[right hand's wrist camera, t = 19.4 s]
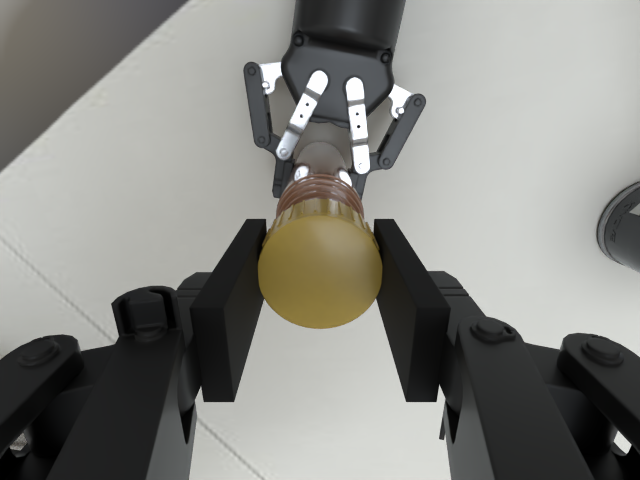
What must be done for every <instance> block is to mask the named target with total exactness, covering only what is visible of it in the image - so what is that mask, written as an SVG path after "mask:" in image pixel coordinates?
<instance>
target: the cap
mask: <svg viewBox="0 0 640 480" xmlns="http://www.w3.org/2000/svg"><path fill="white" fill-rule="evenodd" d="M262 246H263V248H262V251H261V253H260V256H259V260H258V279H259V287H260V290H261V293H262V295H263V297H264V299H265V300H266V302H267V303H268V305H269V306H270V307H271V308H272V309H273V310H274V311H275V312H276V313H277V314H278V315H280V316H281V317H283V318H284V319H286V320H288V321H289V322H291V323H294V324H296V325H299V326H303V327H307V328H314V329H325V328H333V327H337V326H341V325H344V324H346V323H349V322H351V321H353V320H354V319H356V318H358V317H359V316H360V315H362V314H363V313H364V312H365V311H366V310H367V309H368V308H369V307H370V306H371V304H372V303H373V302H374V300H375V298H376V297H377V295H378V293H379V290H380V287H381V282H382V260H381V257H380V254H379V251H378V250H380V249H379V246H378V244H377V242H376V239H375V237H374V234H373V232H371V229H370V227H369V224H368V222H365V221H364V219H363V218H362V216H361V214H360V213H359V214H358V213H357V212H356V211H354V210H353V209H352V207H351V206H350V207H348V206H347V205H344V204H342V203H341V202H340V201H339V202H337V201H333V200H329V199H328V198H327V199H317V198H315V199H313V200H307V201H305V200H303V202H300V203H298V204H296V205H291V207H290V208H288V209H287V210H286V211H282V213H281V215H280V216H279V217H278V218H277V219H275V220H274V222H273V224H272V226H271V229H269V230H268V232H267V234H266V237H265V239H264V242H263V244H262Z"/></svg>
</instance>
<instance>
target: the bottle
mask: <svg viewBox="0 0 640 480" xmlns="http://www.w3.org/2000/svg"><path fill="white" fill-rule="evenodd" d="M315 198H317V199H327V198H328V199H329V200H333V201H337V202H339V201H340V202H341V203H342V204H344V205H347V206H348V207H350V206H351V207H352V209H353V210H354V211H356V212H357V213H358V214H359V213H360V214H361V216H362V218H363V219H364V211H363V206H362V202H361V200H360V198H359V195H358V193H357V191H356V188H355V186H354V184H353V181H352V179H351V177H350V174H349V172H348V170H347V168H346V165H345V163H344V161H343V158H342V156H341V154H340V152H339V151H338V150H337V148H336V147H334V146H333V145H331V144H329V143H327V142H313V143H311V144H309V145H307V146H306V147H304V148H303V150H302V151H301V152H300V154H299V156H298V158H297V160H296V163H295V165H294V167H293V170H292V172H291V174H290V177H289V179H288V181H287V184H286V186H285V188H284V190H283V193H282V195H281V197H280V200H279V202H278V205H277V210H276V219H277V218H278V217H279V216H280V215H281V213H282V211H286V210H287V209H288V208H290V207H291V205H296V204H298V203H300V202H303V200H305V201H307V200H313V199H315Z"/></svg>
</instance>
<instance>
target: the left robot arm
mask: <svg viewBox="0 0 640 480" xmlns="http://www.w3.org/2000/svg"><path fill="white" fill-rule="evenodd" d="M405 1H406V0H296V4H295V12H294V20H293V28H292V36H291V42H290V46H289V48H288V50H287V52H286V53H285V55H284V56H283V58H282V60H281V62H276V63H267V64H257V63H254V62H248V63H247V64H246V65H245V66H244V70H243V71H244V78H245V84H246V91H247V98H248V104H249V111H250V117H251V124H252V130H253V137H254V142H255V144H256V145H257V146H258V147H260V148H264V149H266V150H268V151H269V152H271V153H272V154H273V155H274V156H275V158H276V166H275V174H274V182H273V189H272V192H273V196H274V197H275V198H280V197H281V195H282V193H283V190H284V188H285V186H286V184H287V181H288V179H289V177H290V174H291V172H292V170H293V167H294V163H295V159H293V154H294V149H295V147H296V145H297V143H298V141H299V139H300V137H301V135H302V133H303V131H304V129H305V127H306V126H307V124H308V122H309V121H310V122H316V123H326V122H330V123H333V124H335V125H337V126H339V127H343V128H348V136H349V142H350V150H351V158H352V167H351V169H349V168H348V172H349V174H350V177H351V179H352V181H353V184H354V186H355V188H356V191H357V193H358V195H359V198H360V200H361V199H362V195H363V191H364V186H365V182H366V178H367V175H368V174H369V173H370V172H372V171H374V170H380V169H385V170H387V169H390V168H391V167H392V166H393V164H394V163H395V161H396V159H397V157H398V155H399V153H400V151H401V150H402V148H403V146H404V144H405V142H406V140H407V138H408V136H409V135H410V133H411V131H412V129H413V127H414V125H415V123H416V122H417V120H418V118H419V116H420V114H421V112H422V110H423V109H424V107H425V104H426V99H425V97H424V96H423V95H422V94H412V93H410V92H408V91H406V90H404V89H403V88H401V87H399V86H397V85H395V84H394V77H393V73H392V60H393V55H394V51H395V46H396V42H397V37H398V33H399V28H400V24H401V19H402V15H403V10H404V6H405ZM280 77H283V78H284V80H285V82H286V84H287V86H288V89H289V91H290V93H291V95H292V97H293V99H294V101H295V103H296V105H297V107H296V109H295V111H294V113H293V115H292V117H291V119H290V121H289V124H288V126H287V128H286V131H285V133H284V135H283V137H282V138H281V137H279V136H277V135H275V134H274V133H273V129H272V121H271V114H270V106H269V99H268V95H269V94H272V93H273V92H274V91H275V89H276V82H277V80H278V79H279V78H280ZM387 97H388V98H389V99H390V102H391V106H390V109H389V113H390V115H391V117H393V118H394V119H393V121H392V123H391V124H390V126H389V128H388V130H387V132H386V134H385V136H384V138H383V140H382V142H381V144H380V146H379V148H378V150H377V152H374V153H369V151H368V134H367V124H366V117H367V116H369V115H370V114H371V113H372V112H373V111H374V110H375V109H376V108H377V107H378V106H379V105H380V104H381V103H382V102H383V101H384V100H385V99H386V98H387ZM279 200H280V199H279ZM598 242H599V245H600V248H601V249H602V251H603V252H604V254H605V255H606V256H607V257H609V258H610V259H612V260H614V261H615V262H617V263H620V264H622V265H625V266H627V267H629V268H631V269H633V270H635V271H637V272H639V273H640V182H639V183H637V184H635V185H633V186H631V187H629V188H627V189H626V190H624V191H623V192H622V193H620V194H619V195H618V196H617V197H616V198H615V199H614V200H613V201H612V202H611V203H610V204H609V206H608V207H607V209H606V210H605V212H604V214H603V215H602V218H601V220H600V223H599V227H598Z"/></svg>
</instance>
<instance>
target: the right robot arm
mask: <svg viewBox="0 0 640 480" xmlns="http://www.w3.org/2000/svg"><path fill="white" fill-rule="evenodd" d="M266 234H267V230H266V219H247V220H246V221H245V223H244V224H243V226H242V227H241V229H240V230H239V232H238V233H237V235H236V237H235V238H234V240H233V241H232V243H231V244H230V246H229V247H228V249H227V250H226V252H225V253H224V255H223V257H222V258H221V260H220V261H219V263H218V264H217V266H216V267H215V269H214V270H213V272H196V273H195V274H193V275H191V276H190V277H188V278H186V279H185V280H184V281H183V282H182V283H181V285H180V286H179V287H178V288H177V290H176V291H175V290H174V289H172V288H170V287H166V286H148V287H143V288H138V289H135V290H132V291H129V292H127V293H125V294H123V295H121V296H119V297H118V298H117V299H116V300H115V301H114V302H113V303H111V305H112V309H113V313H114V317H115V321H116V325H117V329H118V333H119V338H118V340H117V342H116V344H114V345H110V346H105V347H100V348H95V349H90V350H85V351H81V350H80V347H79V344H78V340H77V339H75V338H74V337H73V336H69V335H52V336H45V337H43V338H37V339H34V340H32V341H31V342H29V343H26V344H24V345H22V346H20V347H18V348H17V349H15V350H13V351H12V352H10V353H9V354H7V355H6V356H5V357H3V358H2V359H1V360H0V480H189V474H190V466H191V458H192V451H193V443H194V435H195V427H196V420H197V412H196V405H195V398H196V396H197V394H198V391H199V389H200V387H202V394H203V400H204V402H234V400H235V397H236V393H237V390H238V387H239V383H240V380H241V376H242V373H243V369H244V366H245V362H246V359H247V356H248V352H249V349H250V345H251V342H252V338H253V335H254V332H255V328H256V325H257V321H258V318H259V314H260V311H261V307H262V304H263V301H264V297H263V295H262V293H261V290H260V287H259V279H258V260H259V256H260V253H261V251H262V248H263V246H262V244H263V242H264V239H265V237H266ZM374 237H375V239H376V242H377V244H378V246H379V249H380V250H378V251H379V254H380V257H381V260H382V282H381V287H380V290H379V293H378V295H377V297H376V300H377V303H378V307H379V310H380V313H381V317H382V320H383V324H384V327H385V331H386V334H387V338H388V341H389V344H390V348H391V351H392V355H393V358H394V362H395V365H396V369H397V372H398V375H399V379H400V382H401V386H402V389H403V393H404V396H405V400H406V402H437V395H438V389H439V384H440V387H441V389H442V391H443V394H444V396H445V398H446V399H445V405H444V411H443V417H442V423H441V429H440V436H439V439H442V440H444V437H445V434H446V442H447V450H448V458H449V465H450V473H451V480H640V357H639V356H637V355H636V354H635V353H633V352H632V351H630V350H629V349H627V348H626V347H624V346H622V345H621V344H619V343H616V342H614V341H612V340H610V339H608V338H606V337H602V336H598V335H594V334H584V333H574V334H568V335H567V336H566V337H565V338H563V341H562V345H561V348H560V350H559V349H554V348H548V347H543V346H538V345H533V344H529V343H525V342H524V341H523V339H522V337H521V335H520V334H519V333H518V332H517V331H516V329H514V328H513V327H511V326H510V325H508V324H507V323H505V322H502V321H500V320H497V319H495V318H491V317H486V316H485V314H484V313H483V312H482V311H481V309H480V308H479V307H478V306H477V304H476V303H475V302H474V300H473V299H472V298H471V297H470V296H469V294H468V293H467V292H466V290H465V289H463V287H462V285H461V284H460V283H459V281H458V280H457V279H456V278H454V277H453V276H451V275H449V274H448V273H446V272H444V271H427V270H426V269H425V267H424V265H423V264H422V262H421V261H420V259H419V258H418V256H417V255H416V253H415V252H414V250H413V248H412V247H411V245H410V244H409V242H408V241H407V239H406V238H405V236H404V235H403V233H402V232H401V230H400V228H399V227H398V225H397V224H396V222H395V221H394V219H374ZM618 431H619V432H620V433H621V434H622V435H623V436H624V437H625V438H626V439H627V440H628V441H629V442H630V443H631V444H632V445H631V448H630V450H629V452H628V453H627V454H626V453H624V452H623V451H622V450H621V449H620V448H619V447H618V446H617V445H616V444H615V443H614V442H613V441H614V439H615V436H616V434H617V432H618ZM22 433H24V435H25V438H26V440H27V444H26V445H25V446H24V447H23V448H22V450H20V451H19V450H13V449H10V445H11V444H12V443H13V442H14V441H15V440H16V439H17V438H18V437H19V436H20V435H21V434H22Z"/></svg>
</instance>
